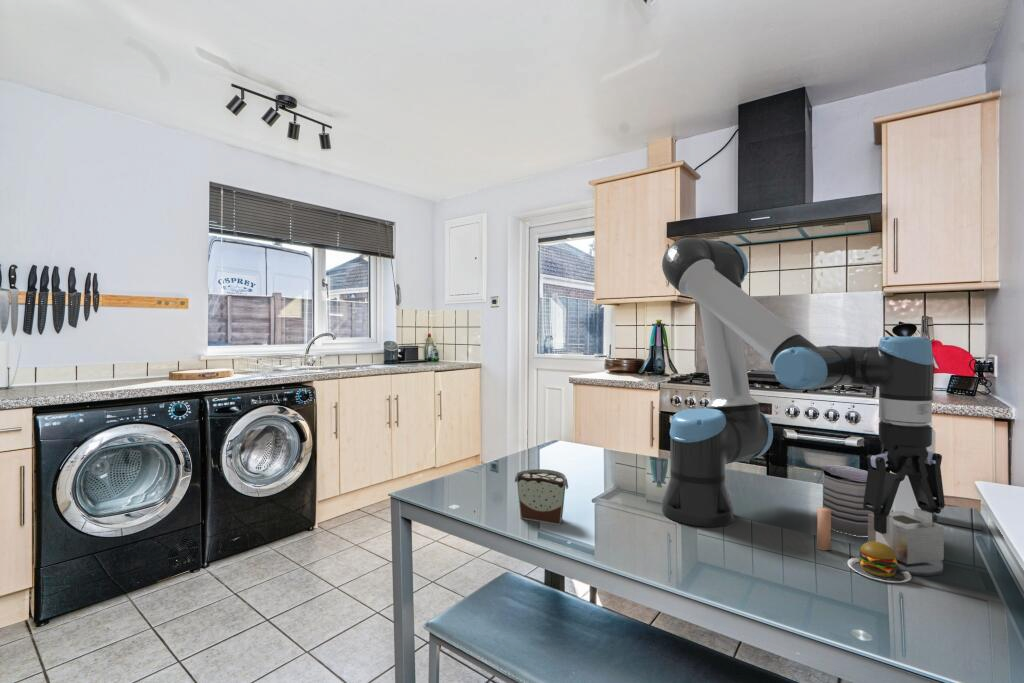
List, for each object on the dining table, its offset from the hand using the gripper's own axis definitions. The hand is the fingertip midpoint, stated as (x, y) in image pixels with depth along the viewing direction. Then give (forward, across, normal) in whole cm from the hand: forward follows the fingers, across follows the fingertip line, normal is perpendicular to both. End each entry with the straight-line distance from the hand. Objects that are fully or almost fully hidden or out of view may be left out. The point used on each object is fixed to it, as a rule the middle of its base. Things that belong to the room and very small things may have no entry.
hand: (903, 548), depth 90 cm
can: (+3, +5, +15) cm, 16 cm away
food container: (+2, -58, +34) cm, 67 cm away
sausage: (+2, -10, +7) cm, 13 cm away
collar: (+1, 0, 0) cm, 1 cm away
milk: (+3, +24, +18) cm, 30 cm away
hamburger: (+3, -8, -2) cm, 9 cm away
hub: (+2, 0, 0) cm, 2 cm away
